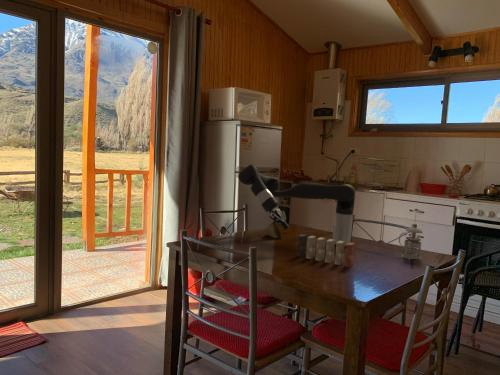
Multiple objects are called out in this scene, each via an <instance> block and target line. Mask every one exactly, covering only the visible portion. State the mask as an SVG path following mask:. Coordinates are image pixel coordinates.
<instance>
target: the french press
mask: <svg viewBox="0 0 500 375" xmlns="http://www.w3.org/2000/svg"><path fill="white" fill-rule="evenodd" d="M414 212H419V209H418V208H415V209H414ZM414 218H415V219H414V221H416V220H417V219H416V218H417V215H415V217H414ZM405 231H406V232H405ZM405 231H403V232H402V233H401V234H400V235H399V237H398V242H399V245H400V246H401V247H402V248H403V250H402V254H401V255H402V258H403V257H405V258H404V259H406V258H409V259H408V260H410V259H421V258H422V257H421V250H422V242H421V241H422V239H421V238H418V237H414V236H415V234H423V230H422V229H419V228H418V227H416V224H414V226H413V227H408V228H405ZM407 232H409V233H412V235H413V236H407ZM403 235H405V236H406V237H405V240H404V245H402V244H401V237H402V236H403Z"/></svg>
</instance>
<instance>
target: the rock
mask: <svg viewBox="0 0 500 375" xmlns="http://www.w3.org/2000/svg"><path fill="white" fill-rule="evenodd" d="M266 230H267V231H266V235H267V236H269V237H270V236H271V238H273V237H274V238H273V239H276V238H278V239H277V240H284V239H283V235H282V232H281V230H280V227H279V225H278V223H276V222H275V221H274V220H273V221H272V222H271V223H270V224H269V225H268V228H267V229H266Z"/></svg>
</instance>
